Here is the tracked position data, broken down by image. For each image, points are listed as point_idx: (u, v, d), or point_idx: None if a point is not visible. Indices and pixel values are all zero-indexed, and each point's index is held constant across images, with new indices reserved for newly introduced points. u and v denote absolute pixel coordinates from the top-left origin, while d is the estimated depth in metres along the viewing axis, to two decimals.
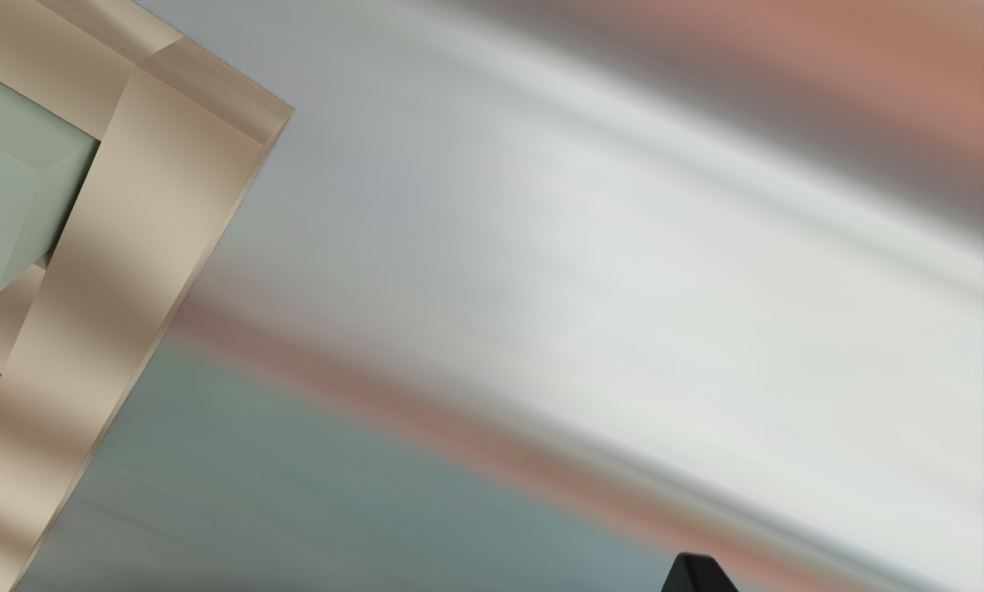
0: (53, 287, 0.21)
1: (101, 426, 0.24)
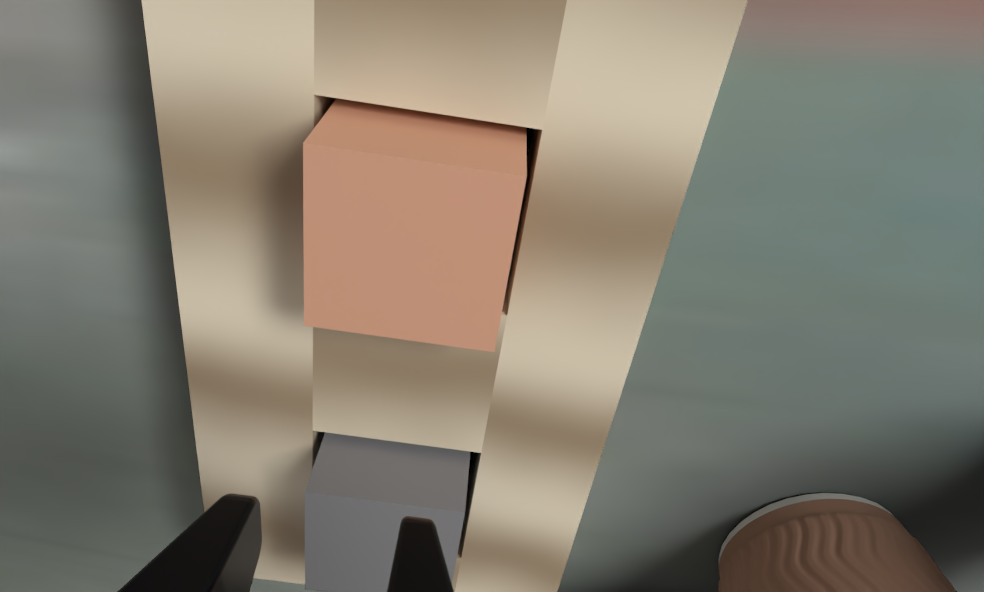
0: None
1: (693, 165, 0.16)
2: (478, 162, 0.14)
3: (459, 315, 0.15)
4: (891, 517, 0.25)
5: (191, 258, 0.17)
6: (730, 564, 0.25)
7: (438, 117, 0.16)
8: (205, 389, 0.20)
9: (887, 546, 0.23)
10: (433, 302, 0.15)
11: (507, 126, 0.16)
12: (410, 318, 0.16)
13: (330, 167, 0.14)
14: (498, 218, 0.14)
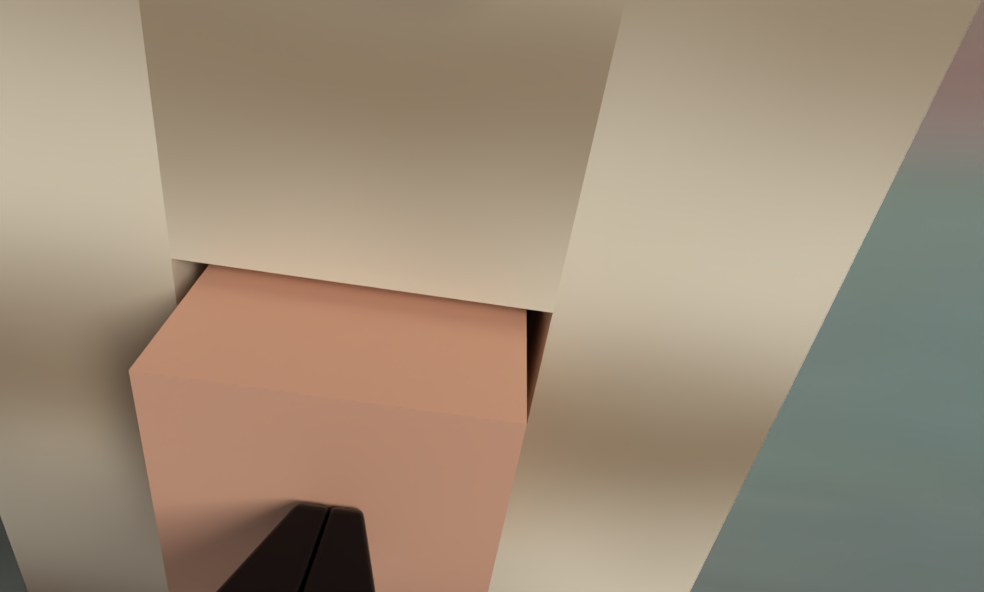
0: None
1: (798, 364, 0.10)
2: (441, 392, 0.08)
3: None
4: None
5: (13, 475, 0.11)
6: None
7: None
8: None
9: None
10: (376, 583, 0.09)
11: None
12: None
13: (182, 406, 0.08)
14: (478, 480, 0.08)
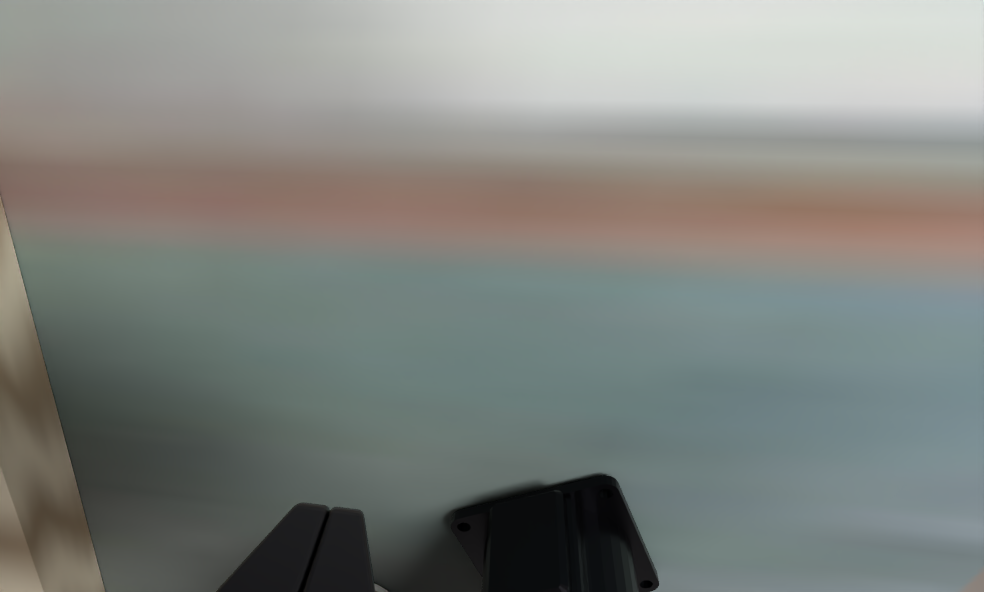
0: None
1: None
2: None
3: None
4: None
5: None
6: None
7: None
8: None
9: None
10: None
11: None
12: None
13: None
14: None
